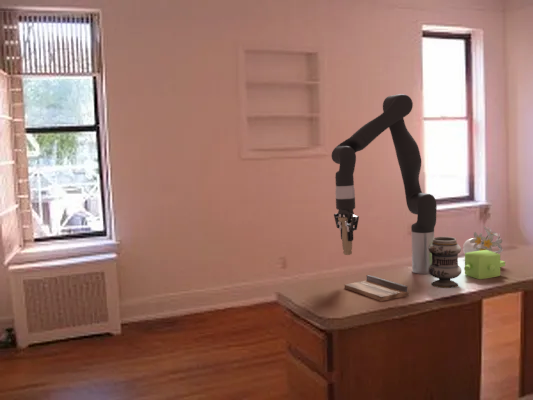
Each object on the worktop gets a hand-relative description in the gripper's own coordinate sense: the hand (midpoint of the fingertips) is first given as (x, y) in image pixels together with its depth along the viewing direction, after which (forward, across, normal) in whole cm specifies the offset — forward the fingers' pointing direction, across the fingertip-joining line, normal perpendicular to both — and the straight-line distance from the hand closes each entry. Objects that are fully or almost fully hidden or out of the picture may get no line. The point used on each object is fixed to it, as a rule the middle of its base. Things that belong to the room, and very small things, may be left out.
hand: (347, 239), depth 222 cm
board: (+17, -17, 0) cm, 24 cm away
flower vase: (+18, -6, -68) cm, 70 cm away
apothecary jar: (+18, -25, -27) cm, 41 cm away
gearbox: (+18, -24, -48) cm, 57 cm away
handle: (+6, 0, 0) cm, 6 cm away
